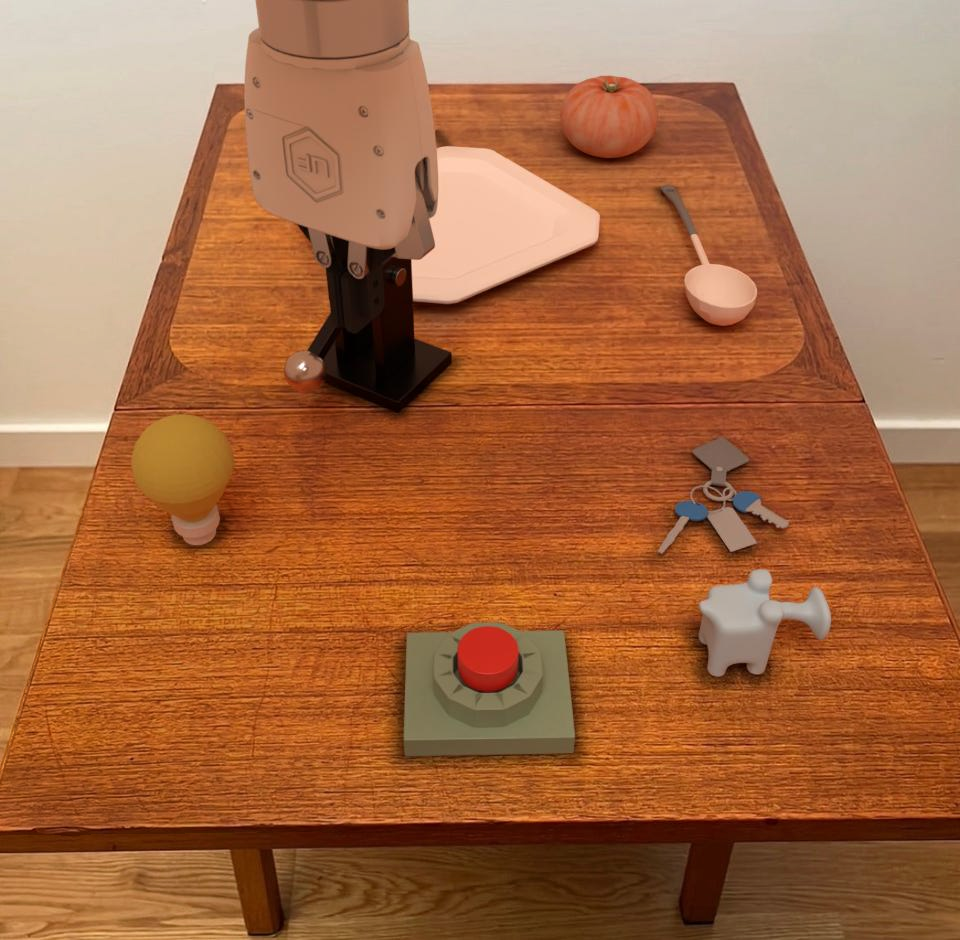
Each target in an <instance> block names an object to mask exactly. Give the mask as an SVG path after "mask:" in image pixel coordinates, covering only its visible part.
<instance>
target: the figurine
mask: <svg viewBox="0 0 960 940" xmlns="http://www.w3.org/2000/svg"><path fill="white" fill-rule="evenodd" d="M772 585H773V578H772V575H771V572H770V571H769V570H768V569H765V568H759V569H758V568H757V569H754V570H752V571H751V572H750V573H749V575H748V579H747V581H745V582H741V583H736V584H720V585H715V586H714V585H713V586H712V587H711V588H710V589H709V590H708V592H707V594H706V595H707V596H706V599H704V600H703V599H702V600H701V601H700V602H699V603H698V608H699V611H700V612H701V614H702V617H701V621H700V625H699V626H700V627H699V631H698V640H699V642H700V643H701V644H702V645H705V646H706V647H707V651H708V661H707V666H706V669H707V672H708V674H710V675H711V676H712V677H716V678H718V677H723V676H724V675H725V674H726V671H727V669H728V668H729V667H730V666H732V665H735V664H746V669H747V671H748V672H749V673H750V674H752V675H762V674H764V673H765V671H766V668H767V665H768V660H769V657H770V654H771V651H772V649H773V648H772V647H773V645H774V640H775V637H776V634H777V631H778V628H779V625H780V624H781V623H782V620H793V621H798V622H801V623H803V624H805V625H806V626H807V627H808V628H809V629H810V631H811V633H812V635H813V636H814V638H815V639H817V640H818V641H822V640H824V639H825V638H826V637H827V636H828V635H829V632H830V629H831V625H832V615H831V610H830V607H829V604H828V601H827V599H826V596H825V595H824V592H823V591H822V590H821V588H820V587H817V586H815V587H812V588H811V589H810V590H809V591H808V594H807V597H806V600H805V601H803V602H793V601H792V602H791V601H778V600H776V599H770V591H771V586H772Z"/></svg>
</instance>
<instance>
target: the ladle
mask: <svg viewBox="0 0 960 940" xmlns="http://www.w3.org/2000/svg"><path fill="white" fill-rule="evenodd" d="M659 189H660V190H661V192H662V193H663V195H665V197H666V198H667V199H668V200H669V201H670V203H672V204H673V206H674V207H675V209H676V211H677V213H678V215H679V217H680V219H681V220H682V223H683V226H684V227H685V229H686V232H687V234H688V236H689V238H690V241H691V242H692V244H693V247H694V250H695V252H696V255H697V257H698V259H699V262H700V265H697V266H694V267H692V268H691V269H689V270H688V271H687V272H686V273H685V276H684V279H683V281H684V282H683V283H684V291H685V295H686V298H687V300H688V303H689V305H690V307H691V308H692V310H693V311H694V312H695V313H696V314H697V315H698V316H699V317H700V318H701V319H703V320H704V321H705V322H708V323H709V324H712V325H715V326H723V327H726V326H732V325H734V324H737V323H738V322H741V321H742V320H744V319H746V317H747V316H748V315H749V313H750V312H751V311H752V309H753V308H754V307H755V303H756V300H757V296H758V288H757V286H756V283H755V282H754V281H753V279H751V278H750V276H748V275H747V274H745V273H744V272H743V271H741V270H739V269H736V268H734V267H731V266H728V265H723V264H719V263H718V264H717V263H710V261H709V259H708V256H707V254H706V252H705V250H704V247H703V244H702V242H701V240H700V238H699V234H698V232H697V228H696V227H695V224H694V222H693V220H692V218H691V215H690V213H689V211H688V210H687V208H686V206H685V204H684V202H683V200H682V198H681V195H680V194H679V191H677V189H676V188H675V186H674V185H672V184H664V185H661V186H660V187H659Z"/></svg>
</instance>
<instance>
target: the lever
mask: <svg viewBox="0 0 960 940" xmlns="http://www.w3.org/2000/svg"><path fill="white" fill-rule="evenodd" d="M342 329H343V328H338V327H335V326H333V325H332V321H331V312H329V314H328V315H327V318H326V319H325V321H324V322H323V324H322V325H321V327H320V329H319V331H318V332H317V334H316V336H315V337H314V339H313V340H312V342H311V343H310V345H309V346H308V347H307V349H305V350H303V349H302V350H298V351H295V352H294V353H292V354H291V355H290V356H289V357H288V358H287V359H286V361H285V364H284V366H283V375H284V378H285V382H286V383H287V384H288V386H289V387H291V389H292V390H294V391H296V392H300V393H311V392H314V391H317V390H318V389H319V388H320V387H321V386H322V385H323V384H324V383H323V382H324V380H325V378H326V366H325V363H324V361H323V360H324V358H325V356H326V355H327V353H328V351H329V350H330V348H331V346H332V345H333V343H334V342H335V340H336V338H337V337H338V335H339V333H340V332H341V330H342Z"/></svg>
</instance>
